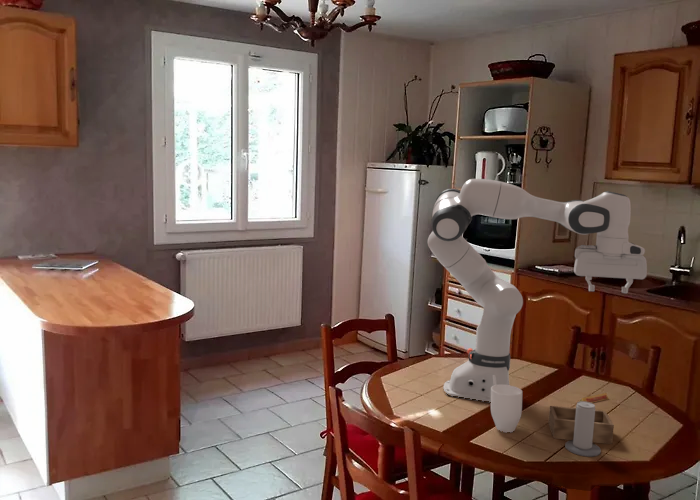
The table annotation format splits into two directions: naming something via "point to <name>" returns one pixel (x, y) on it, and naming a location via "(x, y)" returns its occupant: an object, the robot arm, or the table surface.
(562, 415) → the box
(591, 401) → the chocolate bar
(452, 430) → the table surface
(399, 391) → the table surface
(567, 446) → the slate coaster
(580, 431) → the beverage can
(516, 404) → the mug
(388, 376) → the table surface
